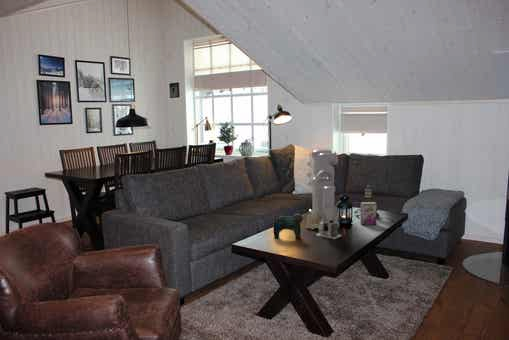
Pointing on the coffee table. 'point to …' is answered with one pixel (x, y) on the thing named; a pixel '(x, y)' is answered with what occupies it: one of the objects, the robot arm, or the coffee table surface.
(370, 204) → the candy bar box
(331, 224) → the block
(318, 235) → the felt pad
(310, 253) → the coffee table surface
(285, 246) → the coffee table surface
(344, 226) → the coffee table surface
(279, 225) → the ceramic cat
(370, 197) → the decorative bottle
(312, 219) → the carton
